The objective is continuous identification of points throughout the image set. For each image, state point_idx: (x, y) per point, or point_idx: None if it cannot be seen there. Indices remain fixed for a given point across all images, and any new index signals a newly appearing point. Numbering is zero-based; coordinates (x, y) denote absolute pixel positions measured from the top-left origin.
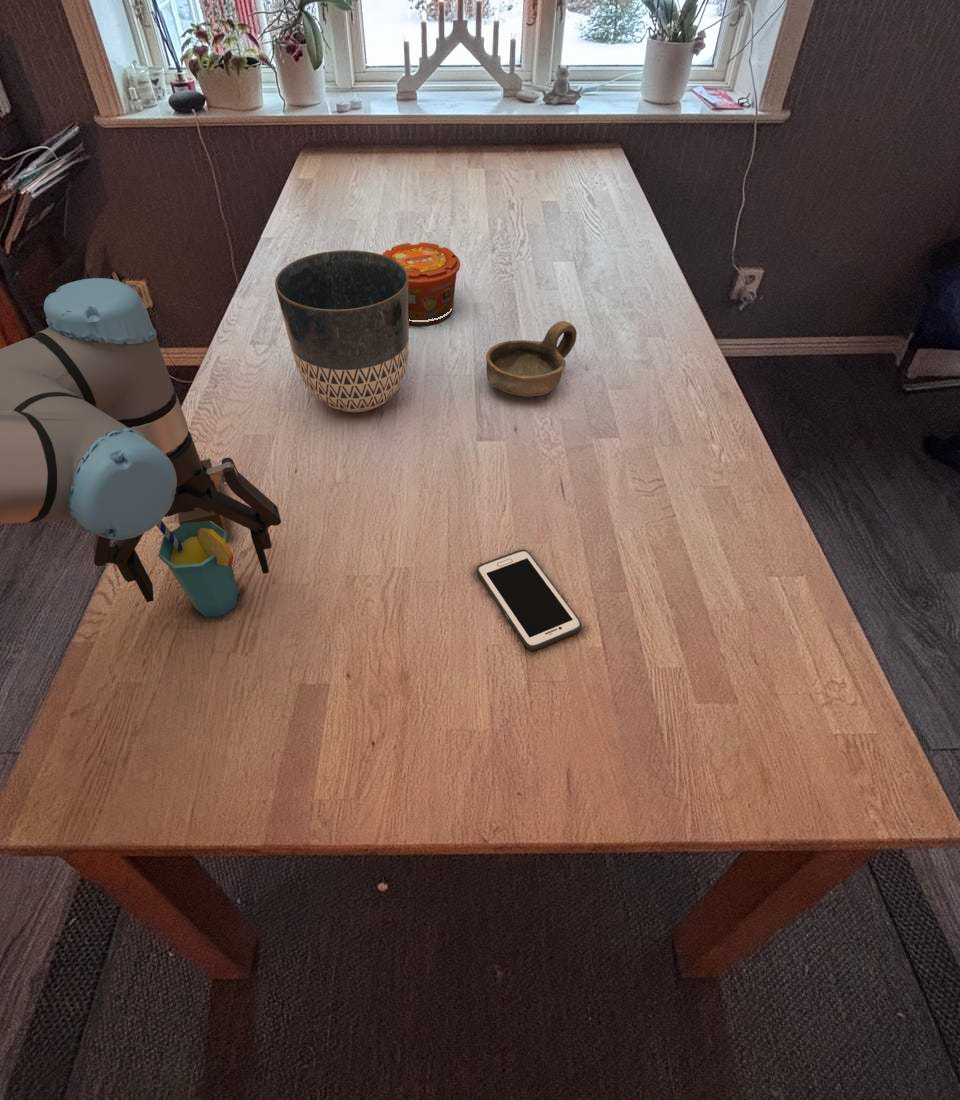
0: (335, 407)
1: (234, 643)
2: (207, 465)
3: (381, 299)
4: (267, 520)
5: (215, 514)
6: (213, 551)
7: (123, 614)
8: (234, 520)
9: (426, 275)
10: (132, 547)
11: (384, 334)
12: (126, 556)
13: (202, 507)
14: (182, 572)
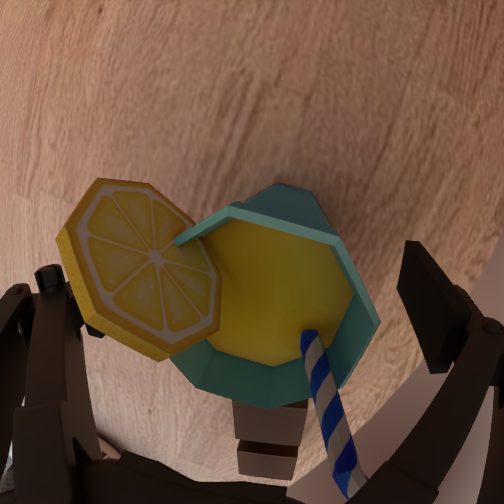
0: (104, 450)
1: (263, 103)
2: (243, 468)
3: None
4: (19, 299)
5: (238, 401)
6: (167, 252)
7: (445, 261)
8: (59, 335)
9: None
10: (463, 365)
11: (7, 478)
12: (477, 339)
13: (51, 440)
14: (316, 223)
